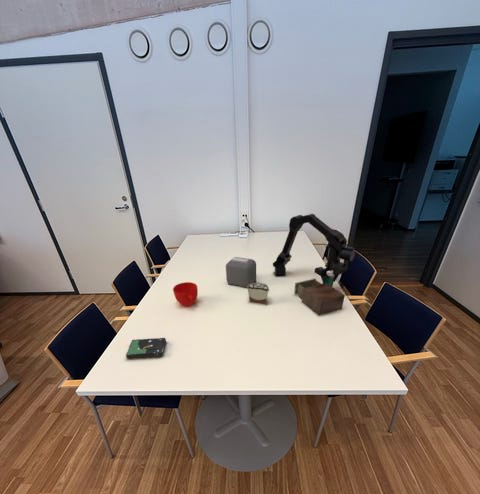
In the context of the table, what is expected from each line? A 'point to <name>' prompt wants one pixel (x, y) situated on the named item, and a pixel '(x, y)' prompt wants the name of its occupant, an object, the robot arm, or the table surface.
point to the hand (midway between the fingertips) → (328, 282)
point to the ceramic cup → (186, 293)
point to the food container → (258, 293)
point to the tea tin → (330, 279)
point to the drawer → (304, 286)
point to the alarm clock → (241, 271)
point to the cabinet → (322, 298)
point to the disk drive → (146, 348)
